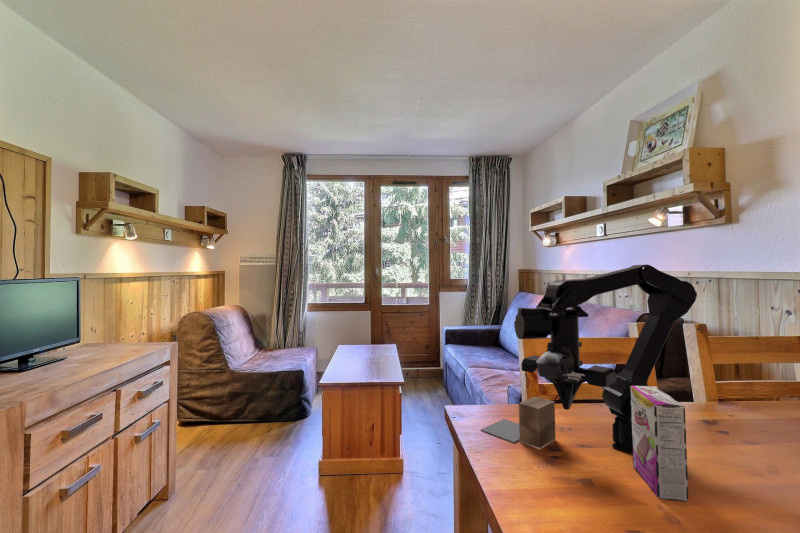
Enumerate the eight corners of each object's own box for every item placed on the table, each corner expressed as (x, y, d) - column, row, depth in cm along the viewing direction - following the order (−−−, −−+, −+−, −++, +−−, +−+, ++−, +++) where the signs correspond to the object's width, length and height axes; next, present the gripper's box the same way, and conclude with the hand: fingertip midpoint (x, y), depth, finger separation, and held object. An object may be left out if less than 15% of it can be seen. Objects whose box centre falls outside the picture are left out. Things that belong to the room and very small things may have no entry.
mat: (537, 430, 94) (537, 429, 94) (514, 443, 87) (514, 441, 87) (504, 420, 101) (504, 418, 101) (480, 430, 94) (480, 429, 94)
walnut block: (555, 440, 88) (554, 401, 88) (539, 449, 84) (538, 408, 84) (535, 433, 92) (534, 396, 92) (519, 442, 88) (518, 403, 88)
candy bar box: (631, 467, 76) (628, 384, 76) (659, 469, 75) (656, 385, 75) (657, 500, 65) (654, 403, 65) (690, 503, 64) (687, 405, 64)
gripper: (506, 337, 85) (508, 407, 85) (592, 348, 71) (595, 433, 70) (533, 331, 92) (535, 396, 92) (616, 340, 78) (618, 417, 78)
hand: (566, 409), depth 83 cm, fingers closed
